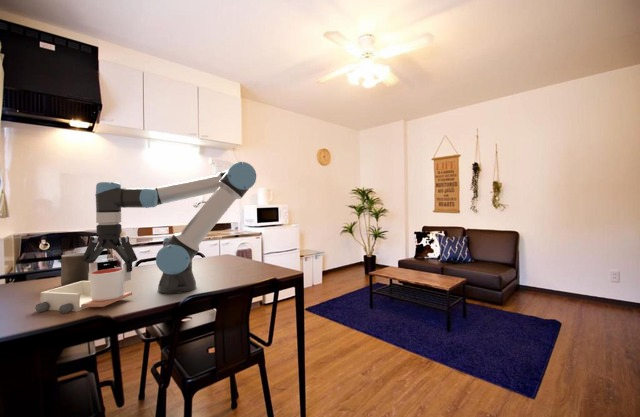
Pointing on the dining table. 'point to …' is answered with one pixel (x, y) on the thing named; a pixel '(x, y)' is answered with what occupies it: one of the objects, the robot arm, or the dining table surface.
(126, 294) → the panel
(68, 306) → the truck bed
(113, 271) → the cup
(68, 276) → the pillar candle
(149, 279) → the dining table surface
